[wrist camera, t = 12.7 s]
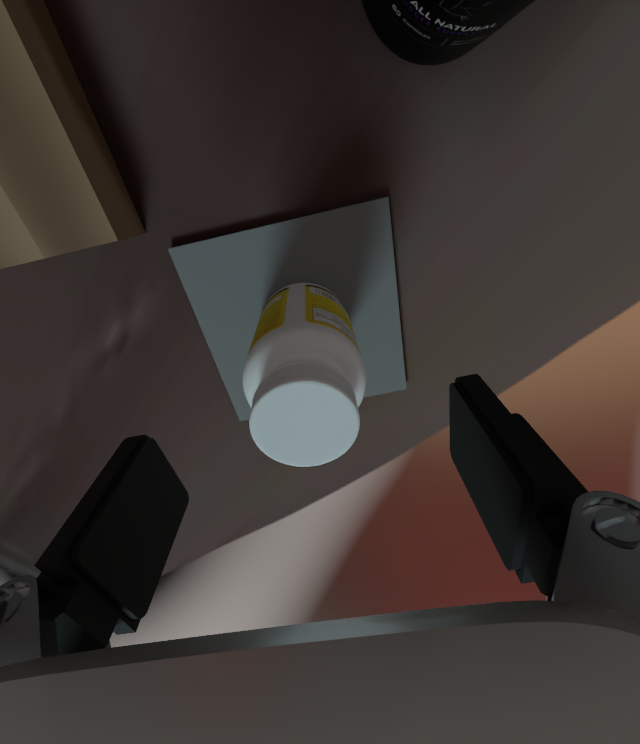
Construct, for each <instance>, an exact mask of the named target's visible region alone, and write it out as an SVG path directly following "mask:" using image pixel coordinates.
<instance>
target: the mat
mask: <svg viewBox="0 0 640 744" xmlns="http://www.w3.org/2000/svg"><path fill="white" fill-rule="evenodd" d="M168 250H169V253H170V255H171V258H172V260H173V262H174V265H175V267H176V270H177V272H178V274H179V277H180V279H181V281H182V284H183V286H184V289H185V291H186V293H187V296H188V298H189V301H190V303H191V305H192V308H193V310H194V313H195V315H196V317H197V320H198V322H199V324H200V327H201V329H202V332H203V334H204V336H205V339H206V341H207V344H208V346H209V348H210V351H211V353H212V355H213V358H214V360H215V363H216V365H217V367H218V370H219V372H220V375H221V377H222V379H223V382H224V384H225V387H226V389H227V391H228V394H229V396H230V398H231V401H232V403H233V406H234V408H235V410H236V413H237V415H238V418H239V420H240V421H244V420H249V419H250V413H251V407H250V405H249V403H248V401H247V399H246V396H245V393H244V389H243V371H244V365H245V361H246V358H247V355H248V352H249V349H250V346H251V343H252V340H253V337H254V334H255V331H256V328H257V325H258V321H259V318H260V315H261V312H262V310H263V308H264V306H265V304H266V302H267V301H268V300H269V298H270V297H271V296H272V295H273V294H274V293H276V292H277V291H278V290H280V289H282V288H283V287H286V286H288V285H291V284H296V283H313V284H317V285H320V286H322V287H324V288H326V289H328V290H330V291H331V292H332V293H334V294H335V295H336V296H337V297H338V298H339V299H340V301H341V302H342V304H343V305H344V307H345V309H346V311H347V314H348V317H349V319H350V322H351V325H352V329H353V332H354V335H355V337H356V341H357V344H358V347H359V350H360V353H361V356H362V359H363V362H364V367H365V372H366V389H365V393H364V397H368V396H374V395H379V394H384V393H389V392H394V391H400V390H405V389H407V388H406V377H405V367H404V356H403V346H402V335H401V325H400V314H399V303H398V293H397V282H396V272H395V261H394V251H393V240H392V229H391V219H390V208H389V198H388V197H383V198H379V199H375V200H370V201H366V202H362V203H358V204H354V205H349V206H345V207H341V208H337V209H332V210H328V211H324V212H320V213H316V214H311V215H307V216H303V217H299V218H294V219H290V220H286V221H282V222H277V223H273V224H269V225H265V226H261V227H256V228H252V229H248V230H244V231H239V232H235V233H231V234H227V235H222V236H218V237H214V238H210V239H206V240H201V241H197V242H193V243H189V244H184V245H180V246H176V247H172V248H169V249H168Z"/></svg>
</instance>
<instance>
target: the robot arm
mask: <svg viewBox="0 0 640 744" xmlns="http://www.w3.org/2000/svg"><path fill="white" fill-rule="evenodd" d="M449 391H450V453H451V457H452V459H453V462H454V464H455V466H456V468H457V470H458V472H459V474H460V476H461V478H462V480H463V482H464V484H465V486H466V488H467V490H468V492H469V494H470V496H471V498H472V500H473V502H474V504H475V506H476V508H477V510H478V512H479V515H480V517H481V518H482V521H483V523H484V525H485V527H486V529H487V531H488V533H489V535H490V537H491V539H492V541H493V543H494V545H495V547H496V549H497V551H498V553H499V555H500V557H501V559H502V561H503V563H504V565H505V567H506V568H507V569H508V570H515V572H516V574H517V576H518V578H519V580H520V581H521V583H530V582H535V583H536V585H537V586H538V588H539V590H540V592H541V593H543V594H544V595H546V596H547V600H546V601H516V602H495V603H486V604H476V605H465V606H454V607H446V608H445V607H444V608H434V609H424V610H416V611H407V612H399V613H390V614H382V615H374V616H364V617H356V618H347V619H339V620H330V621H322V622H313V623H306V624H297V625H289V626H280V627H273V628H264V629H256V630H248V631H240V632H232V633H223V634H215V635H207V636H199V637H191V638H184V639H176V640H168V641H161V642H152V643H145V644H138V645H129V646H122V647H114V648H111V646H110V641H109V639H110V637H111V635H112V633H113V632H115V633H116V634H117V635H118V634H126V633H134V632H136V630H137V627H138V625H139V622H140V620H141V618H142V617H144V616H145V614H146V613H147V611H148V608H149V606H150V603H151V600H152V597H153V595H154V592H155V590H156V587H157V585H158V582H159V579H160V577H161V574H162V571H163V569H164V566H165V563H166V561H167V558H168V555H169V553H170V550H171V547H172V545H173V542H174V539H175V537H176V534H177V531H178V529H179V526H180V524H181V521H182V518H183V516H184V513H185V510H186V508H187V505H188V501H189V496H188V492H187V491H186V489H185V487H184V486H183V484H182V483H181V481H180V479H179V478H178V476H177V475H176V473H175V471H174V470H173V468H172V467H171V465H170V463H169V462H168V460H167V459H166V457H165V456H164V454H163V452H162V451H161V449H160V448H159V446H158V444H157V443H156V441H155V440H154V439H153V438H150V437H149V436H147V435H139V436H134V437H128V438H126V439H124V440H123V442H122V443H121V444H120V446H119V447H118V449H117V450H116V451H115V453H114V454H113V456H112V457H111V459H110V460H109V461H108V463H107V464H106V466H105V467H104V468H103V470H102V471H101V473H100V474H99V475H98V477H97V478H96V480H95V481H94V482H93V484H92V485H91V487H90V488H89V489H88V491H87V492H86V494H85V495H84V497H83V498H82V499H81V501H80V502H79V504H78V505H77V506H76V508H75V509H74V511H73V512H72V513H71V515H70V516H69V518H68V519H67V520H66V522H65V523H64V525H63V526H62V528H61V529H60V530H59V532H58V533H57V535H56V536H55V537H54V539H53V540H52V542H51V543H50V544H49V546H48V547H47V549H46V550H45V551H44V553H43V554H42V556H41V557H40V558H39V560H38V561H37V563H36V564H35V567H37V568H38V569H39V570H40V571H41V573H40V575H39V576H38V578H36V577H34V576H32V575H22V576H19V577H16V578H13V579H11V580H10V581H8V582H6V583H4V584H3V585H1V586H0V744H640V502H638V501H636V500H634V499H632V498H629V497H627V496H624V495H622V494H617V493H613V492H608V491H592V492H588V491H587V490H586V489H585V487H583V485H582V484H581V483H580V482H579V481H578V479H577V478H576V477H575V476H574V475H573V474H572V473H571V472H570V471H569V469H568V468H567V467H566V466H565V465H564V464H563V462H562V461H561V460H560V459H559V458H558V457H557V455H556V454H555V453H554V452H553V451H552V450H551V449H550V447H549V446H548V445H547V444H546V443H545V442H544V440H543V439H542V438H541V437H540V436H539V435H538V434H537V432H535V430H534V429H533V428H532V427H531V426H530V424H529V423H528V422H527V421H526V420H525V419H524V418H523V417H522V416H521V415H520V414H517V413H514V414H511V413H510V412H509V411H508V410H507V408H506V407H505V406H504V405H503V404H502V403H501V401H500V400H499V399H498V398H497V396H496V395H495V394H494V393H493V392H492V390H491V389H490V388H489V387H488V386H487V384H486V383H485V382H484V381H483V380H482V378H481V377H480V376H479V375H478V374H473V375H468V376H462V377H457V378H456V380H455V383H451V384H450V388H449Z"/></svg>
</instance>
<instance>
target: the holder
mask: <svg viewBox="0 0 640 744" xmlns="http://www.w3.org/2000/svg"><path fill="white" fill-rule="evenodd" d="M143 233H146V232H145V229H144V227H143V225H142V223H141V220H140V218H139V216H138V214H137V211H136V209H135V207H134V204H133V202H132V200H131V198H130V195H129V193H128V191H127V189H126V186H125V184H124V182H123V179H122V177H121V175H120V173H119V170H118V168H117V166H116V164H115V161H114V159H113V157H112V154H111V152H110V150H109V148H108V145H107V143H106V141H105V139H104V136H103V134H102V132H101V130H100V127H99V125H98V123H97V120H96V118H95V116H94V114H93V111H92V109H91V107H90V105H89V102H88V100H87V98H86V95H85V93H84V91H83V89H82V86H81V84H80V82H79V80H78V77H77V75H76V73H75V70H74V68H73V66H72V64H71V61H70V59H69V57H68V55H67V52H66V50H65V48H64V45H63V43H62V41H61V39H60V36H59V34H58V32H57V30H56V27H55V25H54V23H53V20H52V18H51V16H50V14H49V11H48V9H47V7H46V5H45V2H44V0H0V269H3V268H7V267H11V266H15V265H19V264H23V263H28V262H32V261H36V260H40V259H44V258H48V257H52V256H57V255H61V254H65V253H69V252H73V251H77V250H82V249H86V248H90V247H94V246H98V245H102V244H106V243H111V242H115V241H119V240H122V239H126V238H129V237H133V236H136V235H140V234H143Z"/></svg>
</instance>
